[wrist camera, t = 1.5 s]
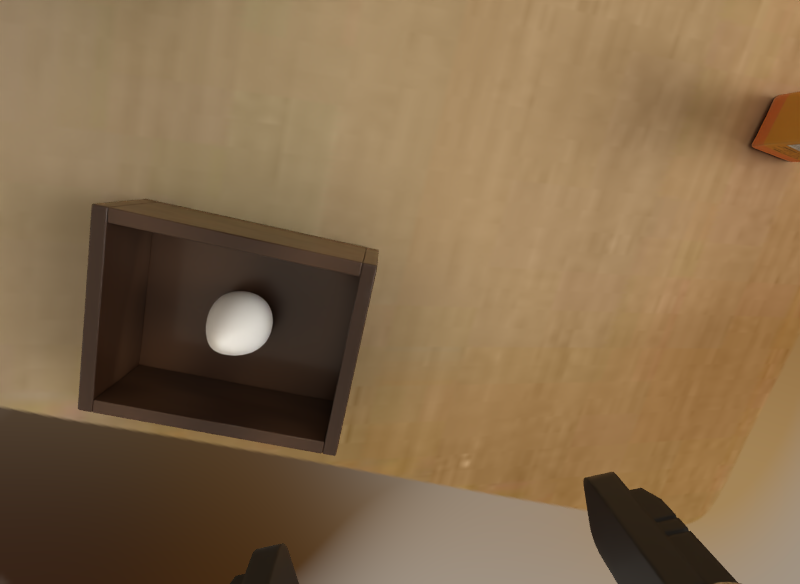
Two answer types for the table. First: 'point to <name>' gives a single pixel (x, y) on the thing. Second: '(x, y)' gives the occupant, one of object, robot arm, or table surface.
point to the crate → (187, 315)
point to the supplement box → (781, 128)
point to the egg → (238, 323)
